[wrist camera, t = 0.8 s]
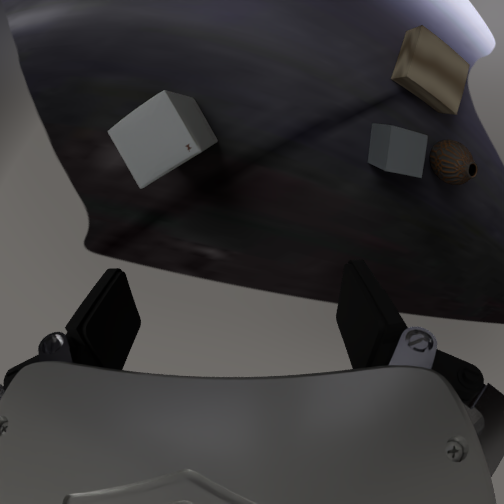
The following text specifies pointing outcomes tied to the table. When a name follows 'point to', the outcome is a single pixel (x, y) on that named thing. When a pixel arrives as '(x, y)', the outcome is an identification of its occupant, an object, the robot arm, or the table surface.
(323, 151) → the table surface
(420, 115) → the table surface
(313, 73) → the table surface
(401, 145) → the slate block
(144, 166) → the supplement box
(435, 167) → the vase
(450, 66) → the birch block
